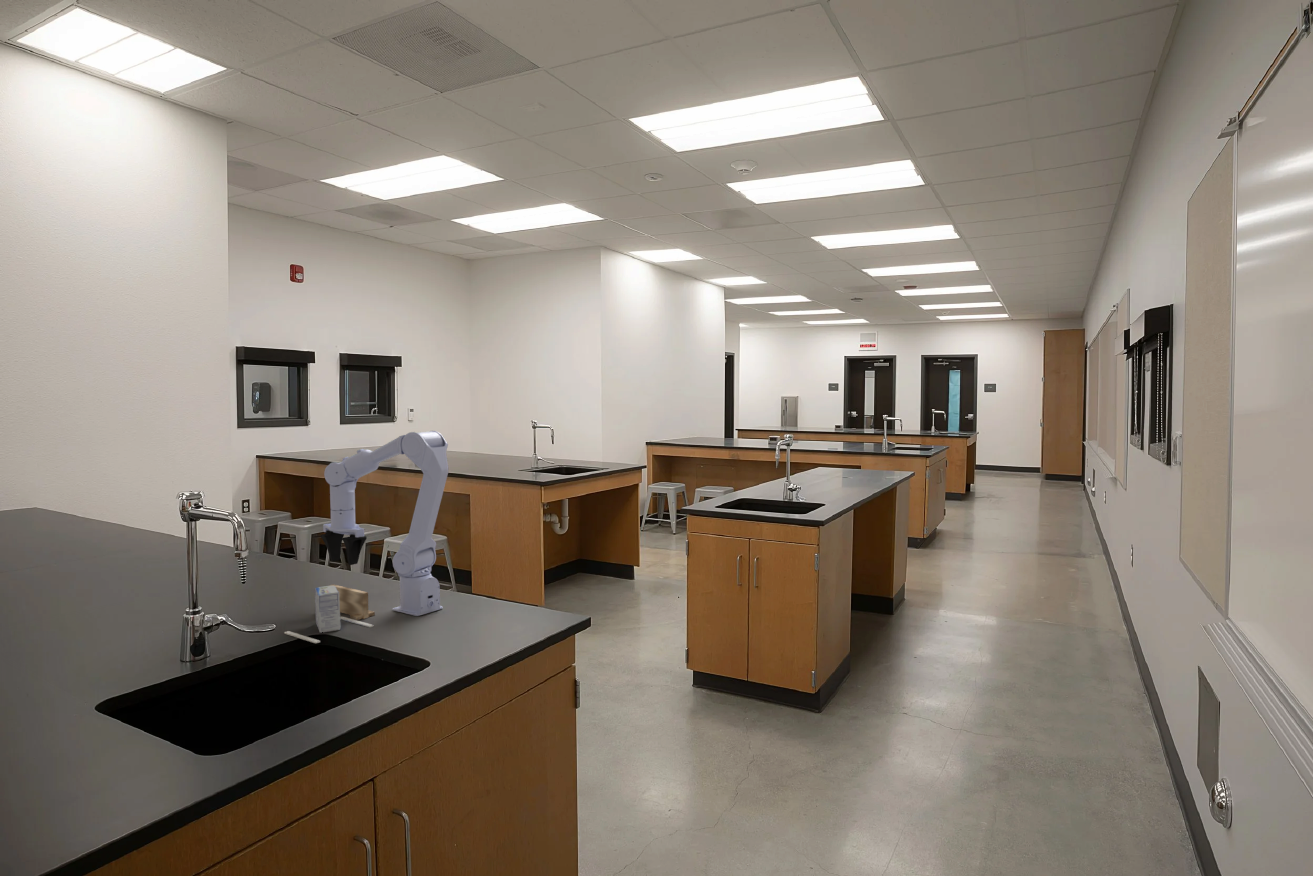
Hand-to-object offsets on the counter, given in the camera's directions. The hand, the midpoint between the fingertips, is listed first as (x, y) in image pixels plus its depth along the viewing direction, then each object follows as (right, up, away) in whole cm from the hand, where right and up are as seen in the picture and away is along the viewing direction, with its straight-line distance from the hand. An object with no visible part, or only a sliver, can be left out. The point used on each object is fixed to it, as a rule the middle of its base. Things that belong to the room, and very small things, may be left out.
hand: (344, 562), depth 183 cm
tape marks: (+6, -12, -21) cm, 25 cm away
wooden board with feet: (+5, -11, -9) cm, 15 cm away
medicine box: (+5, -12, -19) cm, 23 cm away
